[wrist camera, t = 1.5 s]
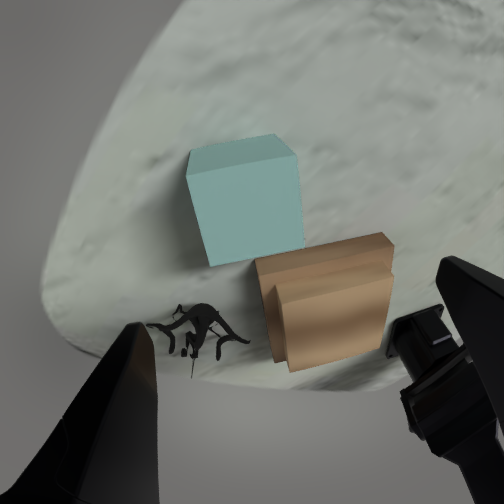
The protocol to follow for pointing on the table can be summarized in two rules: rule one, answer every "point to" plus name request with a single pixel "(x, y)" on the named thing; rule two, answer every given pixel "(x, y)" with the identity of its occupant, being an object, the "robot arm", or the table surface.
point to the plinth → (312, 267)
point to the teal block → (246, 198)
